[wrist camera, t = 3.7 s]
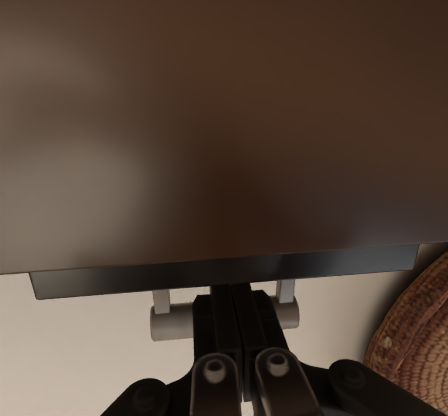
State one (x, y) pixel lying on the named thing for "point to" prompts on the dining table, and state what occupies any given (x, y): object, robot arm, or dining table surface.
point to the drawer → (219, 280)
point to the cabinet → (219, 129)
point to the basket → (417, 338)
